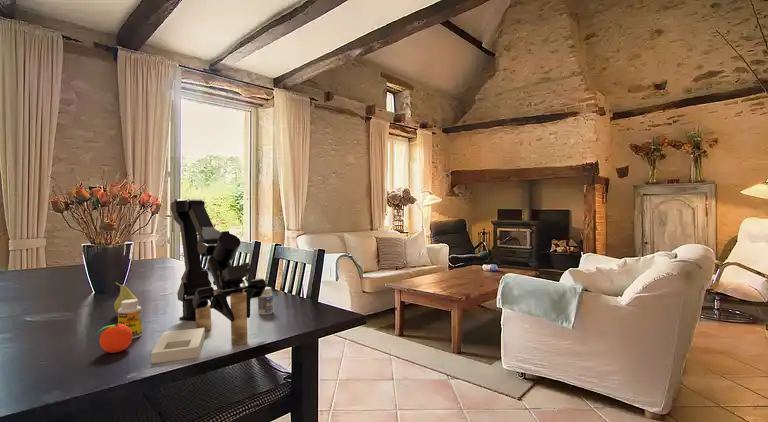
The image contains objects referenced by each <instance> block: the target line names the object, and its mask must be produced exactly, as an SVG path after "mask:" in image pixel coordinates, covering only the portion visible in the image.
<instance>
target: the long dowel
mask: <svg viewBox="0 0 768 422" xmlns="http://www.w3.org/2000/svg"><path fill="white" fill-rule="evenodd" d="M229 297H230V299H229V300H230V301H229V302H230V303H229V304H230V309H231V311H232V313H233V317H234V321H233V322H231V321H230V334H231V335H230V336H231V337H230V338H231V340H230V342H231V345H232V346H242V345H246V344H247V343H248V342H249V341H248V318H247V300H246V293H245V292H237V293H232V294H230V296H229Z"/></svg>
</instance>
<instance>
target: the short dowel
mask: <svg viewBox="0 0 768 422" xmlns="http://www.w3.org/2000/svg"><path fill="white" fill-rule="evenodd" d="M211 311H212V309H210V304H208V305H207V307H205V308H199V309H196V320H195V329H196V328H205V333H206V332H209V331H211V330H212V312H211Z"/></svg>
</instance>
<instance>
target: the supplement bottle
mask: <svg viewBox="0 0 768 422" xmlns="http://www.w3.org/2000/svg"><path fill="white" fill-rule="evenodd" d="M137 299H138V298H137ZM137 299H130V300H124V301H122V302H121V308H120V309H119V310H118V313H117V322H118V323H117V324H123V325H126V326H128V327H129V328H130V329H131V331H132V335H133V336H132V340H133V339H134V340H135V339H136V338H139V337H141V336H142V334H143V320H142V319H143V318H142V317H143V316H142V315H143V314H142V306H140V305H139V304H138V302H139V299H138V300H137Z"/></svg>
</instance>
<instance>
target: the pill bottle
mask: <svg viewBox="0 0 768 422" xmlns="http://www.w3.org/2000/svg"><path fill="white" fill-rule="evenodd" d="M273 298H274V297H273V293H272V287H270V286H266V288H265V290H264V292H263V293H262V295H261V296H260V297H257V308H258V309H257V311H258V312H257V313H258V315H271V314H272V313H273V312H274V305H273V303H274V300H273Z"/></svg>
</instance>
